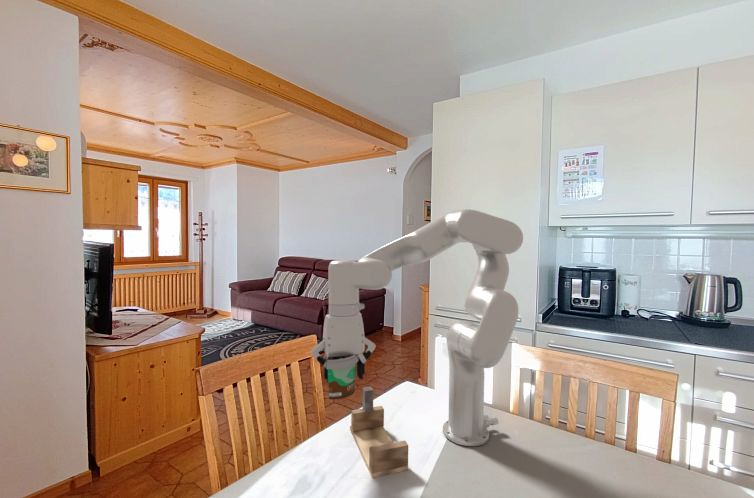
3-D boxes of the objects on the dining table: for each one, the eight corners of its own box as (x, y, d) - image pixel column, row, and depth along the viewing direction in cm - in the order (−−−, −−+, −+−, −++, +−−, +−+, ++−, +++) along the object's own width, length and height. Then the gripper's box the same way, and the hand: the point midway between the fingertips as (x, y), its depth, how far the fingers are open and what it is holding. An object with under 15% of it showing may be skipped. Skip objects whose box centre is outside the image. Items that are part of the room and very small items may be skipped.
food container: (352, 404, 81) (351, 362, 81) (327, 402, 82) (326, 360, 82) (364, 382, 93) (363, 345, 93) (342, 380, 94) (341, 344, 94)
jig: (379, 424, 102) (380, 404, 102) (408, 470, 82) (408, 445, 82) (350, 429, 99) (350, 408, 99) (371, 477, 79) (372, 452, 79)
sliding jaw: (381, 422, 101) (381, 385, 101) (384, 426, 99) (384, 388, 98) (351, 427, 98) (351, 388, 98) (353, 431, 96) (353, 392, 96)
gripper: (372, 304, 93) (372, 369, 94) (306, 309, 88) (307, 378, 88) (381, 310, 86) (381, 380, 86) (310, 315, 80) (311, 390, 81)
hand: (344, 378), depth 87 cm, fingers closed on food container, 7 cm apart
